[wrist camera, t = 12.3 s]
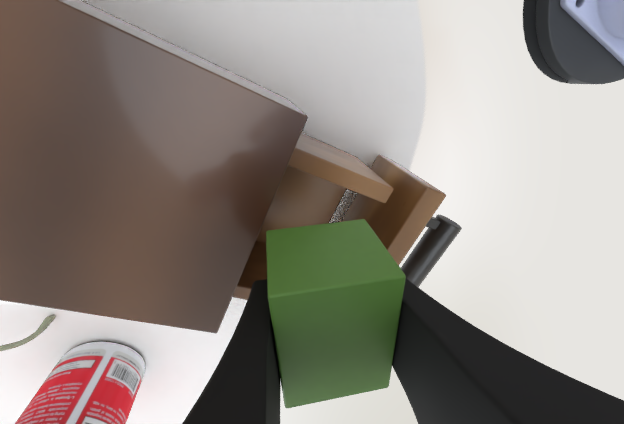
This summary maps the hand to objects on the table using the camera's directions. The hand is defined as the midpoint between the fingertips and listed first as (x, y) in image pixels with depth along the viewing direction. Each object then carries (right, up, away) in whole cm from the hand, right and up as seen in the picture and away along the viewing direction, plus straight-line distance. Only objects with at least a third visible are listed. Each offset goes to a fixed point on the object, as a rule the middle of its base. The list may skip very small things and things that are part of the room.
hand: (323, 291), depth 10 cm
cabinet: (-10, +7, +5) cm, 13 cm away
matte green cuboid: (0, 0, +1) cm, 1 cm away
